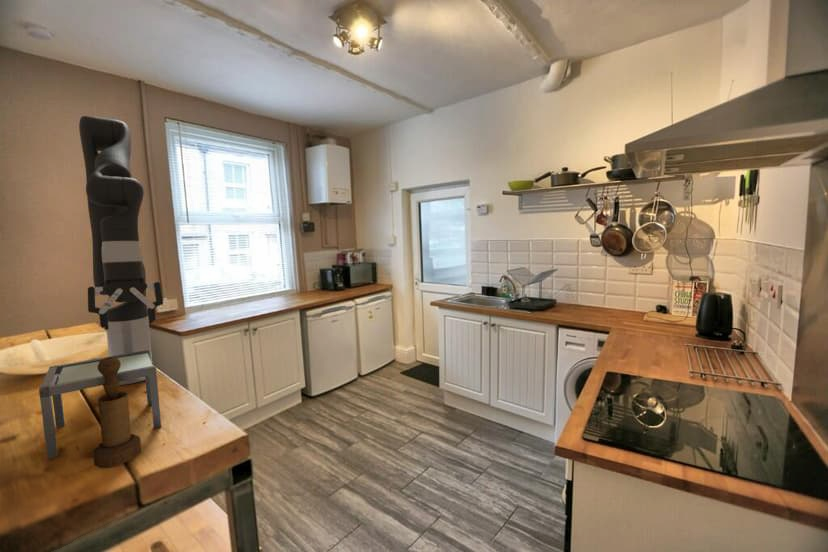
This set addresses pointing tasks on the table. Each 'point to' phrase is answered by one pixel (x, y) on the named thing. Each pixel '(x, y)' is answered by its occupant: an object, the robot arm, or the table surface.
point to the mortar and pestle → (114, 421)
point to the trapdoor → (92, 370)
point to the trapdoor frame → (55, 390)
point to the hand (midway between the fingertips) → (129, 326)
